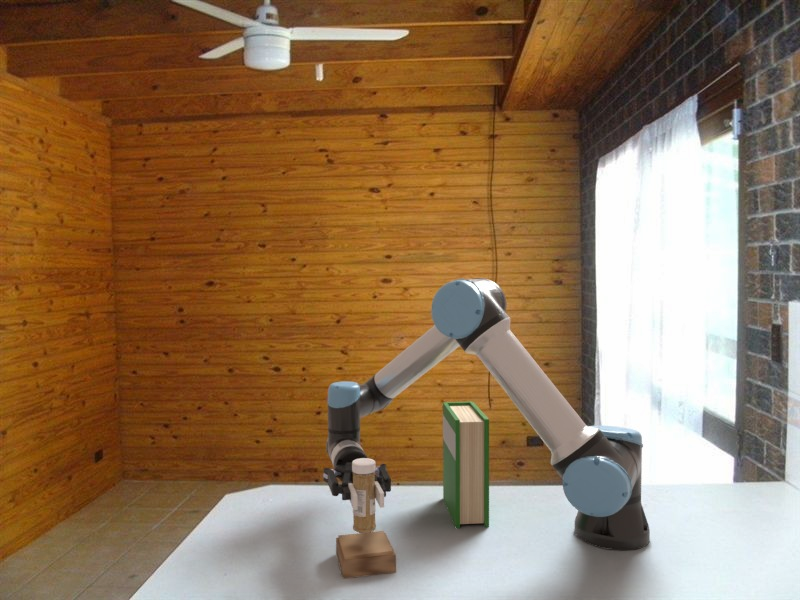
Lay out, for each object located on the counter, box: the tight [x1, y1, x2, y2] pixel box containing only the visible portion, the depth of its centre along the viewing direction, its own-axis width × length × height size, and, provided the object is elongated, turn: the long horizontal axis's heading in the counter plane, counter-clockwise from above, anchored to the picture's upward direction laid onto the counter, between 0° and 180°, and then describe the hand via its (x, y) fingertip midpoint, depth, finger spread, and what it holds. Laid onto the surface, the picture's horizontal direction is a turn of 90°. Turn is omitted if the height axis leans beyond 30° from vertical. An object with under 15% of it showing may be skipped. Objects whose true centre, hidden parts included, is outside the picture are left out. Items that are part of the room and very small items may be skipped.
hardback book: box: [442, 401, 490, 529], centre depth 147 cm, size 18×7×24 cm, turn 5°
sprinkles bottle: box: [352, 457, 377, 533], centre depth 122 cm, size 5×5×13 cm
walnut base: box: [335, 530, 397, 580], centre depth 123 cm, size 10×10×4 cm
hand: (368, 501), depth 117 cm, fingers closed on sprinkles bottle, 4 cm apart
